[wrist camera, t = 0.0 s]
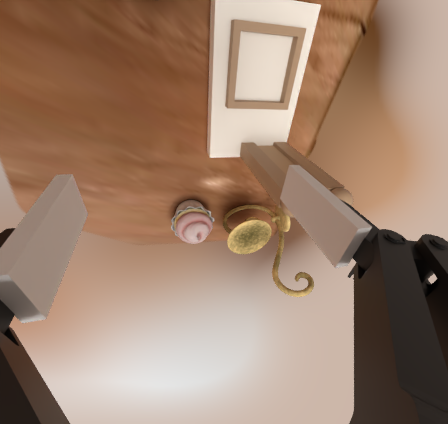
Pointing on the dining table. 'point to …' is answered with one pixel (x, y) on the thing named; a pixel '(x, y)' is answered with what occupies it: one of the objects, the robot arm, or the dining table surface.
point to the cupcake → (192, 222)
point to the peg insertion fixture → (260, 87)
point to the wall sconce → (263, 241)
